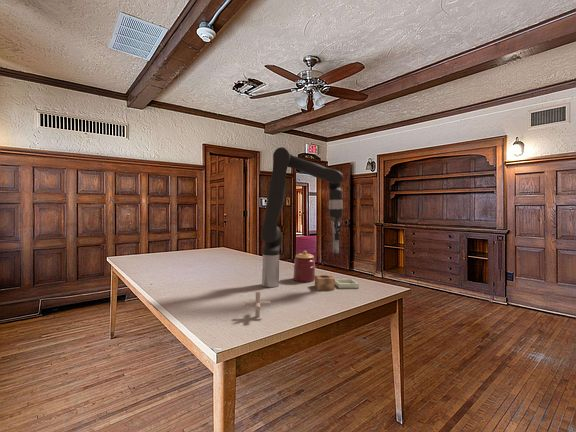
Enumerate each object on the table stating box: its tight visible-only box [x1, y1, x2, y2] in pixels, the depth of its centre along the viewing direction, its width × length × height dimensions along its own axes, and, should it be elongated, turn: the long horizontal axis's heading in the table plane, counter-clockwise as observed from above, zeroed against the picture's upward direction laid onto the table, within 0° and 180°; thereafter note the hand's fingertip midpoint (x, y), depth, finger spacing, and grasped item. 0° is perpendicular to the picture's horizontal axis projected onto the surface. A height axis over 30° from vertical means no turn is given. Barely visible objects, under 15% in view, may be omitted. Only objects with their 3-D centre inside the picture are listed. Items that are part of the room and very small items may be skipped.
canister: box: [293, 250, 316, 283], centre depth 182 cm, size 13×13×18 cm
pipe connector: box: [244, 290, 272, 318], centre depth 120 cm, size 10×10×10 cm
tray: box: [335, 278, 360, 290], centre depth 170 cm, size 11×11×2 cm
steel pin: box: [332, 228, 340, 254], centre depth 166 cm, size 3×3×15 cm
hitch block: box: [314, 274, 336, 291], centre depth 165 cm, size 9×9×6 cm
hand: (335, 239), depth 166 cm, fingers closed on steel pin, 3 cm apart
